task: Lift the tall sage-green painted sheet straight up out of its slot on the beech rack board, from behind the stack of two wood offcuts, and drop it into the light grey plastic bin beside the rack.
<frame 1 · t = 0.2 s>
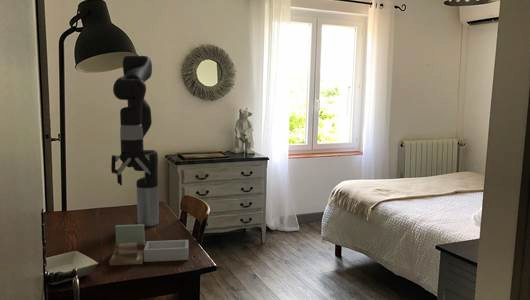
hand: (133, 183, 163), 27 cm above the table, tool pointing down, fingers open, 8 cm apart
sheet: (130, 249, 173), point 1 cm above the table, touching rack
bin: (167, 256, 170), on the table
offcut low: (126, 258, 164), point 1 cm above the table, touching offcut top, rack
rack: (128, 257, 169), on the table
offcut top: (127, 251, 163), point 4 cm above the table, touching offcut low
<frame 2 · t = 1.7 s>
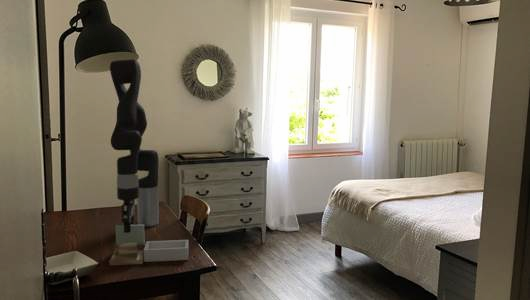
hand: (129, 229, 172), 9 cm above the table, tool pointing down, fingers open, 8 cm apart
nothing on the table moved.
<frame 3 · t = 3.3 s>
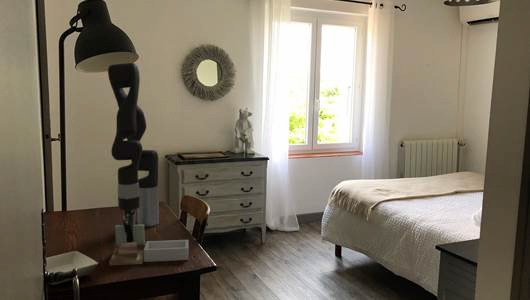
hand: (130, 241, 173), 5 cm above the table, tool pointing down, fingers closed on sheet, 1 cm apart
sheet: (130, 249, 173), point 2 cm above the table, touching gripper
everything else where it was.
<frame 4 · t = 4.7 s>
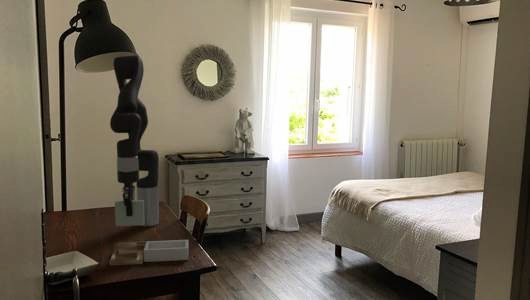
hand: (129, 215, 171), 14 cm above the table, tool pointing down, fingers closed on sheet, 1 cm apart
sheet: (130, 225, 172), point 11 cm above the table, touching gripper
everything else where it was.
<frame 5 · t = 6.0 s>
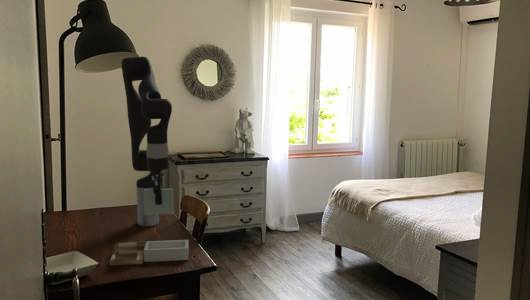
hand: (159, 203, 167), 20 cm above the table, tool pointing down, fingers closed on sheet, 1 cm apart
sheet: (159, 213, 168), point 16 cm above the table, touching gripper
everything else where it was.
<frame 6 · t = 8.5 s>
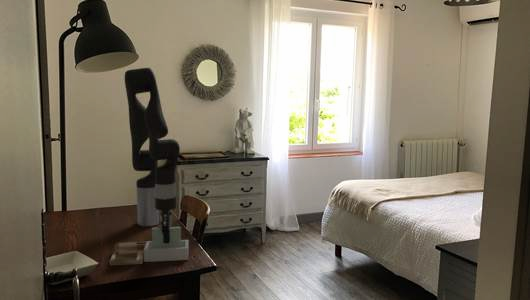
hand: (166, 242, 170), 5 cm above the table, tool pointing down, fingers closed on sheet, 1 cm apart
sheet: (166, 251, 170), point 2 cm above the table, touching gripper
everything else where it was.
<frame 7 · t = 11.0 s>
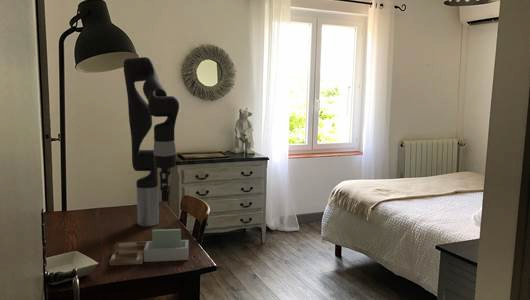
hand: (165, 198, 167), 22 cm above the table, tool pointing down, fingers open, 8 cm apart
sheet: (167, 253, 170), point 1 cm above the table, touching bin
everything else where it was.
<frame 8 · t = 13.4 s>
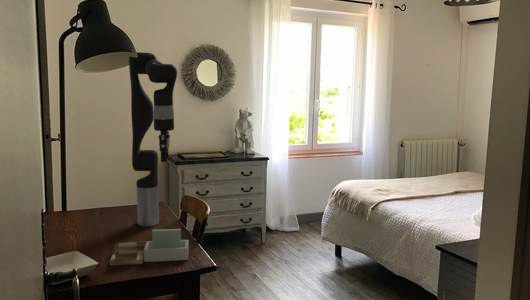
hand: (164, 160, 179), 33 cm above the table, tool pointing down, fingers open, 8 cm apart
nothing on the table moved.
at the end: sheet inside the target area on the bin (0.1 cm from its centre), point 0.8 cm above the bin's base; the gripper is holding nothing; offcut top inside the target area (0.5 cm from its centre), point 4.0 cm above the table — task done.
